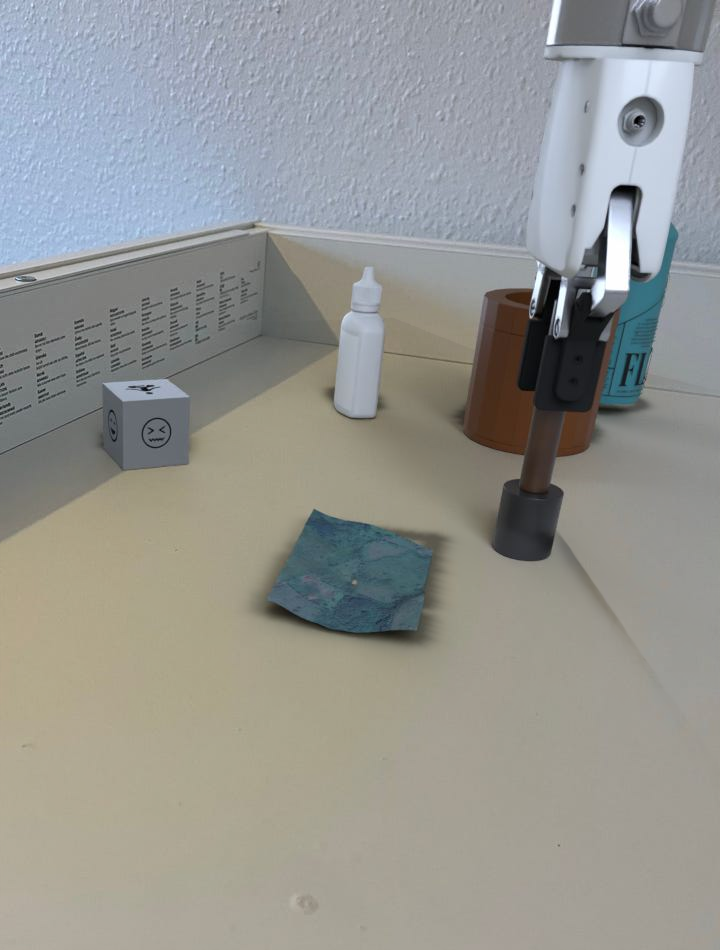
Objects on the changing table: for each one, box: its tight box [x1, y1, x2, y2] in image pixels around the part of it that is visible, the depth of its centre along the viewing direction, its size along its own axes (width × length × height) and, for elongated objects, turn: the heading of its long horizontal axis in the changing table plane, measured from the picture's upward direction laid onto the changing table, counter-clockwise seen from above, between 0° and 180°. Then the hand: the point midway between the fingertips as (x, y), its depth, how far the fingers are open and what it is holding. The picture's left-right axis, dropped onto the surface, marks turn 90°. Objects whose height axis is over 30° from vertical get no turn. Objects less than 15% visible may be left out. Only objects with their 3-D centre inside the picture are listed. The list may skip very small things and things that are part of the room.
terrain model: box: [266, 508, 434, 634], centre depth 55 cm, size 13×8×2 cm, turn 165°
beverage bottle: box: [589, 222, 679, 406], centre depth 86 cm, size 6×7×20 cm
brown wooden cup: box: [462, 287, 621, 457], centre depth 80 cm, size 10×10×11 cm
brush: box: [491, 299, 577, 562], centre depth 58 cm, size 4×4×15 cm
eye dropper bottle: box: [333, 266, 386, 419], centre depth 84 cm, size 4×6×12 cm
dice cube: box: [101, 378, 191, 471], centre depth 73 cm, size 5×5×5 cm
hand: (552, 396), depth 57 cm, fingers open, 3 cm apart
